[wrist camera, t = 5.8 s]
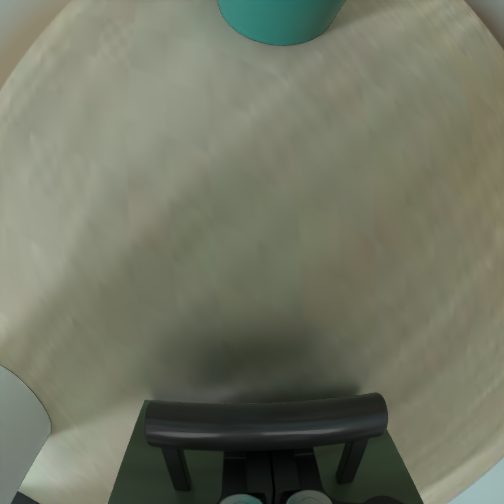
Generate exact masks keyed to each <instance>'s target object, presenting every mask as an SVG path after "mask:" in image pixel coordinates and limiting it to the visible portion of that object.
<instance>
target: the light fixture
mask: <svg viewBox="0 0 504 504" xmlns="http://www.w3.org/2000/svg"><path fill="white" fill-rule="evenodd" d="M11 504H38V503H36V502H35V501H33V500H31V499H30V498H28V497H26V496H24V495H23V494H21V493H19V492H17V493H16V495H15V496H14V498H13V500H12V502H11Z"/></svg>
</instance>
